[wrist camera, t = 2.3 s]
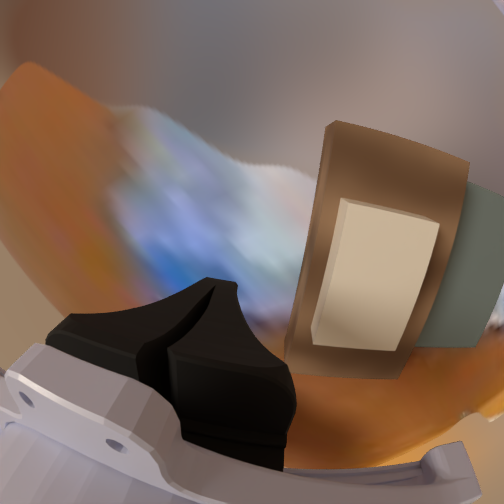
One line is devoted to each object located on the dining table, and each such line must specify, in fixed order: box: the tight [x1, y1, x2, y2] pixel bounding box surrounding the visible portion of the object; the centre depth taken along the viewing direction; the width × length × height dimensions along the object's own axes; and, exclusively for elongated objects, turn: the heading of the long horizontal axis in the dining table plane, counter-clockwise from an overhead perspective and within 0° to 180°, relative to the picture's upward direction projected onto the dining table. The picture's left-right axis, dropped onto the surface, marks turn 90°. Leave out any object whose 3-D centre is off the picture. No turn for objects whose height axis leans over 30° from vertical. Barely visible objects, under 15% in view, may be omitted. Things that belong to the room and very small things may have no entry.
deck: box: [284, 120, 470, 379], centre depth 19 cm, size 18×10×4 cm, turn 172°
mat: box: [414, 182, 504, 347], centre depth 20 cm, size 16×12×1 cm
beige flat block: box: [311, 198, 440, 351], centre depth 17 cm, size 9×6×2 cm, turn 172°
